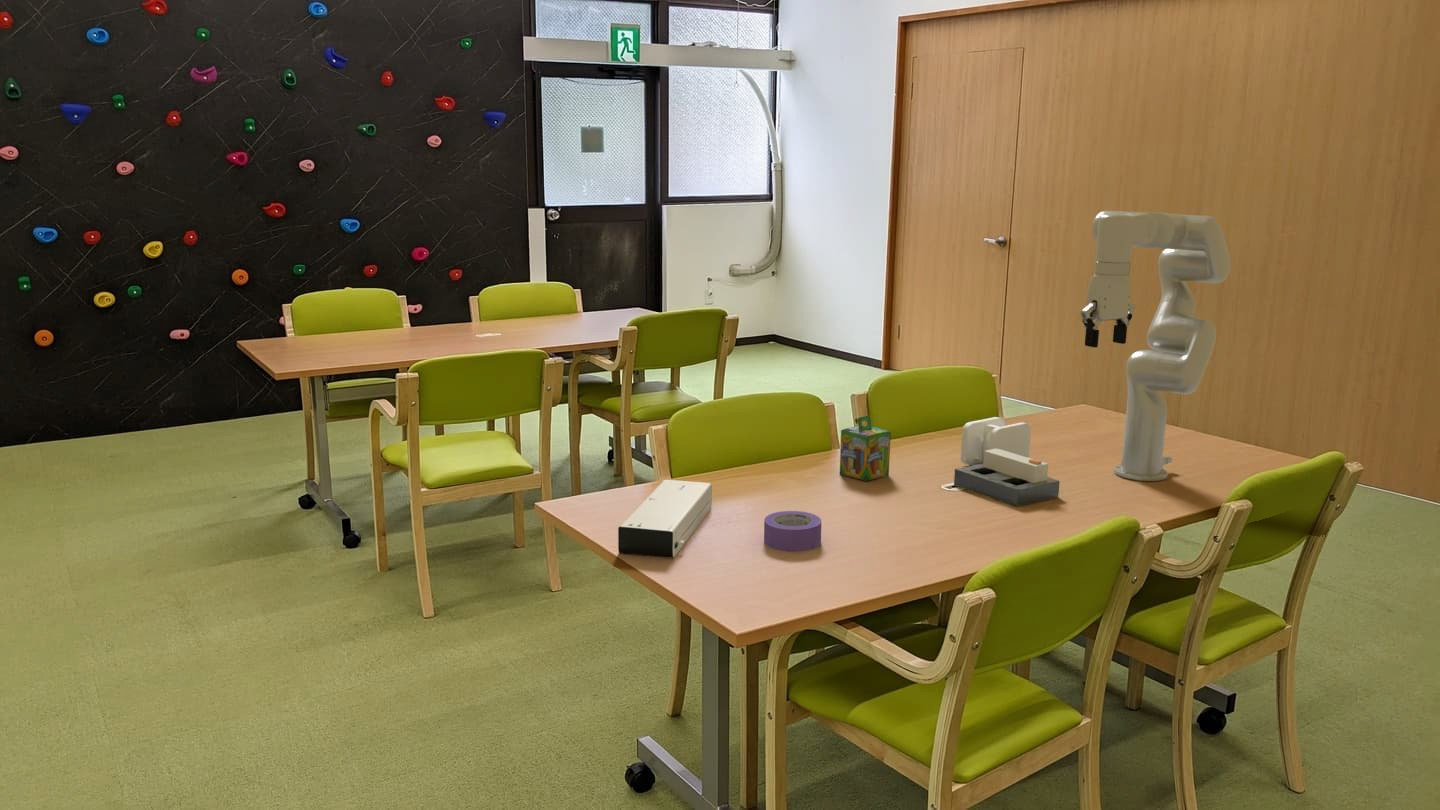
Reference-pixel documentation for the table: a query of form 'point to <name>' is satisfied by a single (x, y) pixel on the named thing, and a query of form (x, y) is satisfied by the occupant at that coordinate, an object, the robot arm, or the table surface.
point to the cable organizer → (993, 439)
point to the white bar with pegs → (1015, 465)
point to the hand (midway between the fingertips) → (1105, 344)
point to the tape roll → (792, 531)
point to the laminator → (665, 519)
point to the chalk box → (865, 451)
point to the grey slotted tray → (1005, 486)
